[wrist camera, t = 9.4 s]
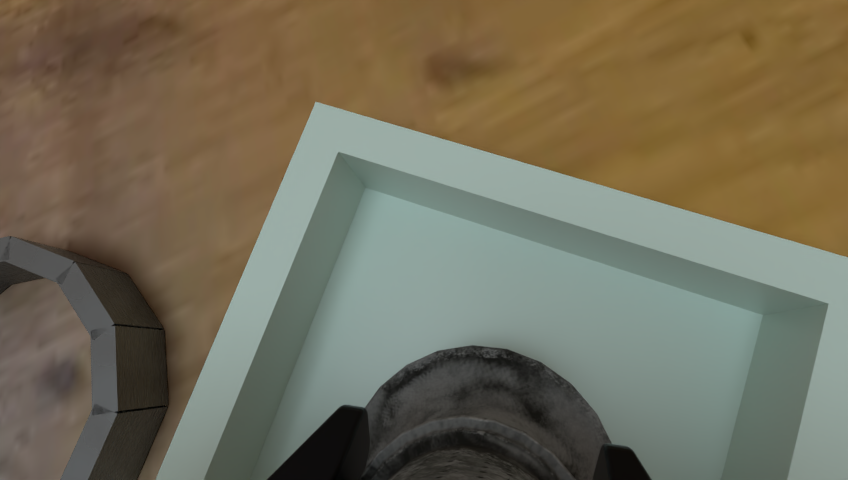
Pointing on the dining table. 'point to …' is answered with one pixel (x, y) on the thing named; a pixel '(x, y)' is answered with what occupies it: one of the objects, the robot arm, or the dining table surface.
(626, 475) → the robot arm
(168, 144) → the dining table surface
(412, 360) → the bin
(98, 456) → the faceted metal ring
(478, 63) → the dining table surface
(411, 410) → the dark grey chess piece
